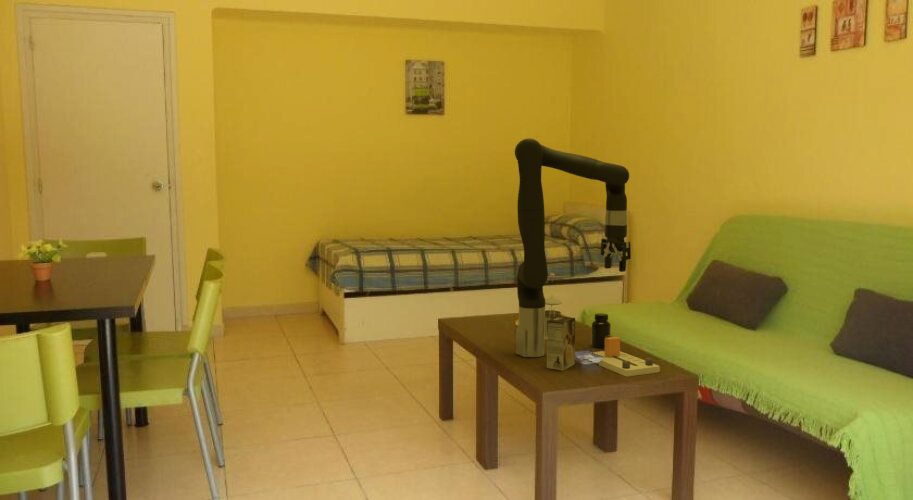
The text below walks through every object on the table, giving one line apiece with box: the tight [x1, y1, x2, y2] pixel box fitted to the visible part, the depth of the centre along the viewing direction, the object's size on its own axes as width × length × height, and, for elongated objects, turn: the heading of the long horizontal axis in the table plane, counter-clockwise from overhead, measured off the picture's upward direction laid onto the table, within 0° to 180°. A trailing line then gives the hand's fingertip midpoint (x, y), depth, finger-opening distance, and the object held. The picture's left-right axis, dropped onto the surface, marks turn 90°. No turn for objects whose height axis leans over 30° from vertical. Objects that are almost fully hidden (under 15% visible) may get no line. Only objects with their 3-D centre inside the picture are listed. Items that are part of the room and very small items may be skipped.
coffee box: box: [546, 315, 576, 372], centre depth 256 cm, size 9×6×16 cm
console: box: [593, 350, 661, 378], centre depth 258 cm, size 13×24×4 cm, turn 24°
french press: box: [545, 272, 563, 340], centre depth 297 cm, size 10×12×25 cm
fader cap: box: [604, 336, 621, 357], centre depth 262 cm, size 4×3×6 cm, turn 114°
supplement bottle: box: [590, 312, 611, 349], centre depth 284 cm, size 7×7×12 cm
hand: (614, 269), depth 269 cm, fingers open, 8 cm apart
